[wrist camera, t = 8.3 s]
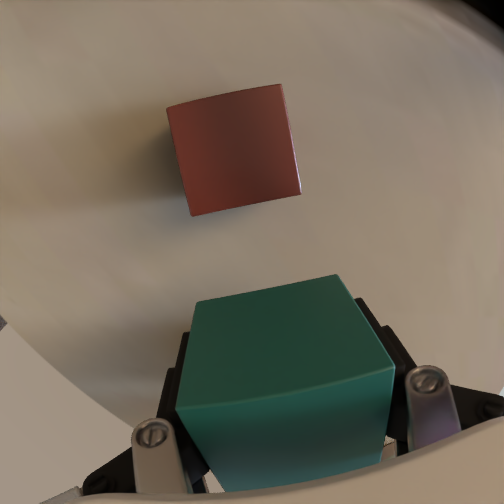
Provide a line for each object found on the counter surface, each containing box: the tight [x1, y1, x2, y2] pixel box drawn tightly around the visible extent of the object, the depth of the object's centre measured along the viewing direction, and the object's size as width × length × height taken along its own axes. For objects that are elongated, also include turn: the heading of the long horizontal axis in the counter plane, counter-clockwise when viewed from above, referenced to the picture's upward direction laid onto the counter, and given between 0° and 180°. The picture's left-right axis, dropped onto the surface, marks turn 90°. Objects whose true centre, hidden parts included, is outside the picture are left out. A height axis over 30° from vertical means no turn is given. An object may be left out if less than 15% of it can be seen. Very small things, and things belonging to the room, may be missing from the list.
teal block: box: [175, 274, 395, 492], centre depth 9 cm, size 5×5×5 cm
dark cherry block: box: [166, 84, 302, 217], centre depth 15 cm, size 5×5×5 cm
